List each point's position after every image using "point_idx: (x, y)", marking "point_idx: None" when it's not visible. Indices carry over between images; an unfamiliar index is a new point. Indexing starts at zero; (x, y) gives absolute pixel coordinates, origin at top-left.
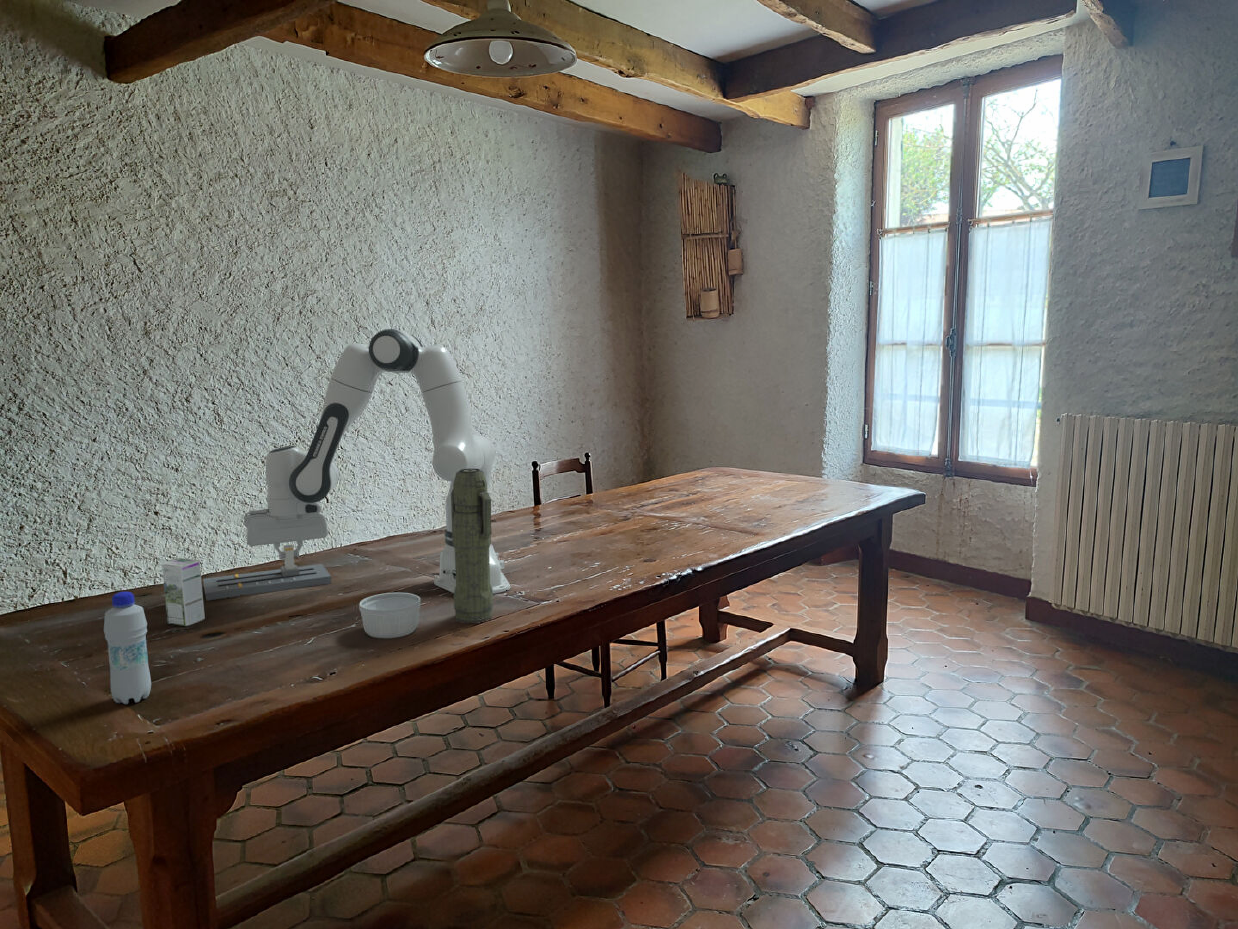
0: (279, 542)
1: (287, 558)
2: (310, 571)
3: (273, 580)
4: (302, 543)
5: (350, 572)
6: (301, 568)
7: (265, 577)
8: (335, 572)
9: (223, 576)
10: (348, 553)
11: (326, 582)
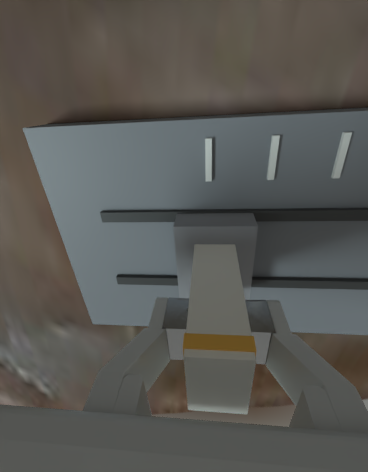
0: (341, 438)
1: (232, 286)
2: (129, 255)
3: (308, 186)
4: (97, 381)
5: (4, 250)
6: None
7: (322, 253)
8: (57, 272)
9: None
10: (51, 396)
11: (63, 123)
